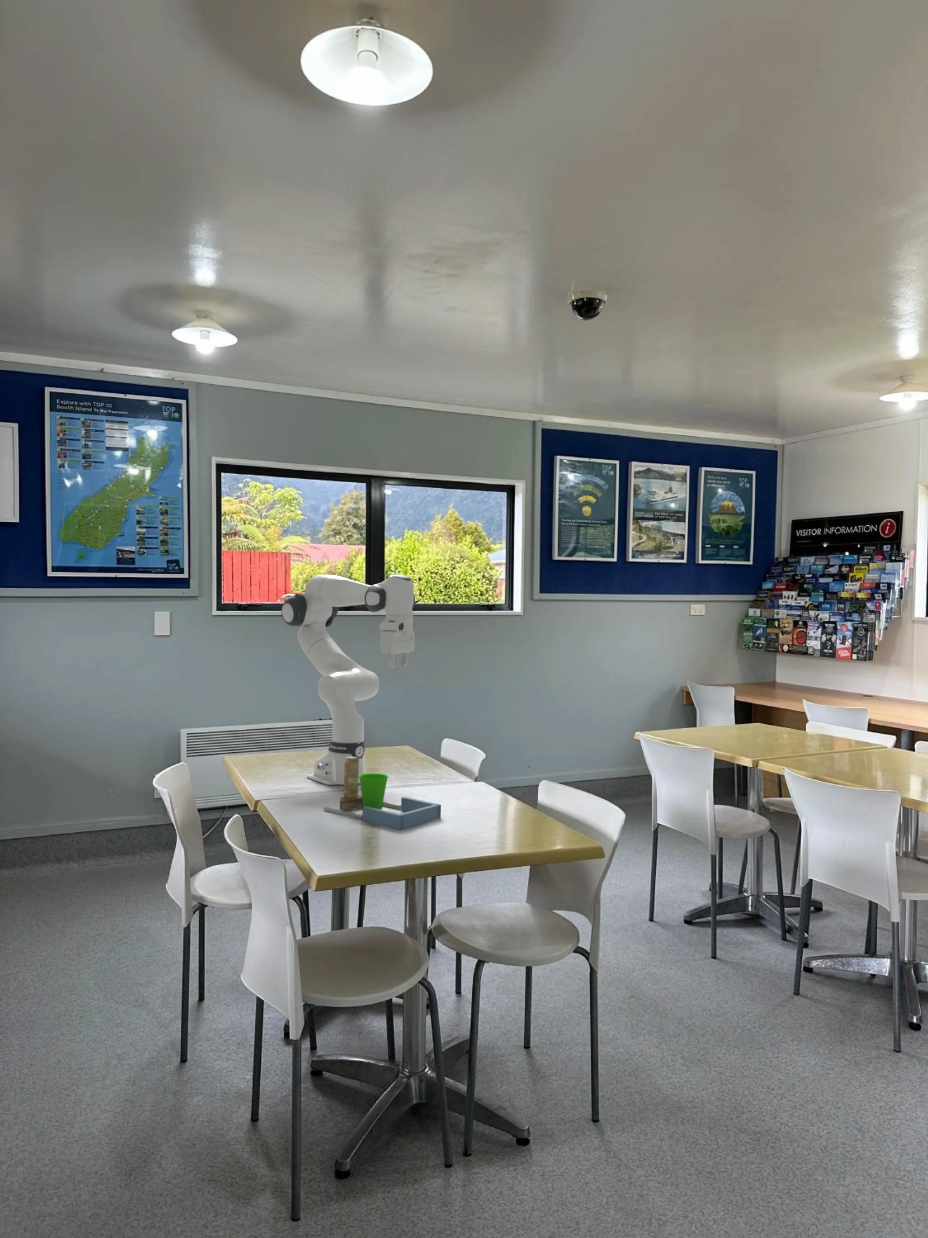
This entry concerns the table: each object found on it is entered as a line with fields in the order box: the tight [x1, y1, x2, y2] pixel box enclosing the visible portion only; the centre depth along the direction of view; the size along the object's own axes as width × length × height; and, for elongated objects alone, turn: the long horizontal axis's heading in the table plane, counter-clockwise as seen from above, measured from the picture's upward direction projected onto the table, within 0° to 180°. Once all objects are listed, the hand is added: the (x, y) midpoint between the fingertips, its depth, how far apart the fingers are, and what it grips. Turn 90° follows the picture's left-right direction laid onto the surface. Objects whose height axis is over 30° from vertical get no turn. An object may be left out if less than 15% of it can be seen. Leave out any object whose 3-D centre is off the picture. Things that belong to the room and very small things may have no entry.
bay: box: [362, 796, 442, 831], centre depth 246 cm, size 14×18×4 cm
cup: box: [359, 772, 389, 810], centre depth 253 cm, size 9×9×11 cm
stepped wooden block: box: [339, 756, 363, 811], centre depth 258 cm, size 5×12×15 cm, turn 142°
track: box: [323, 800, 401, 821], centre depth 255 cm, size 16×18×1 cm
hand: (397, 667), depth 272 cm, fingers open, 8 cm apart
